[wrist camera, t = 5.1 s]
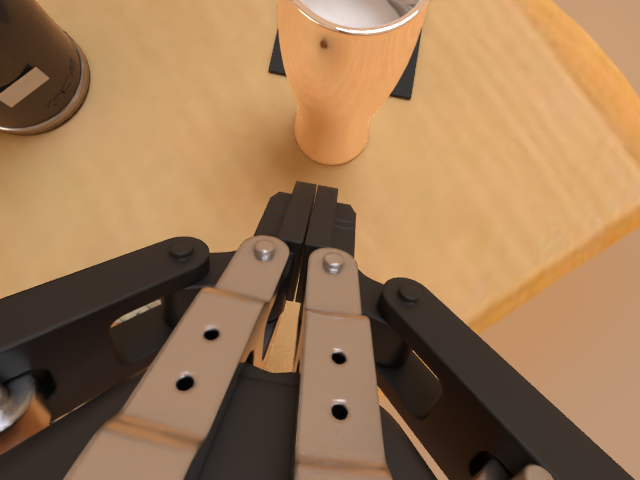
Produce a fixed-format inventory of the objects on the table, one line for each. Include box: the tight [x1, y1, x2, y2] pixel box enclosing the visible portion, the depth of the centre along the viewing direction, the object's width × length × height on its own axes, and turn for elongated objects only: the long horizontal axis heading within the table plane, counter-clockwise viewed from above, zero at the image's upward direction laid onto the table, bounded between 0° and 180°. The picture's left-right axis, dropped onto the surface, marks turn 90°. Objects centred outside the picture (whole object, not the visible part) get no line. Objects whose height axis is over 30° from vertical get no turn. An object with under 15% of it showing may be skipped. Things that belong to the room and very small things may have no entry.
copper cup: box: [278, 0, 430, 165], centre depth 21 cm, size 7×7×15 cm
